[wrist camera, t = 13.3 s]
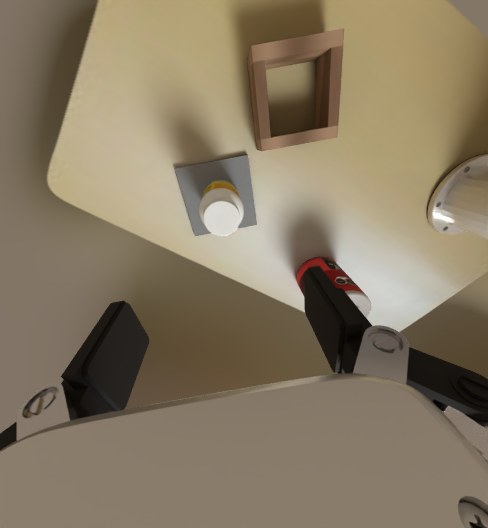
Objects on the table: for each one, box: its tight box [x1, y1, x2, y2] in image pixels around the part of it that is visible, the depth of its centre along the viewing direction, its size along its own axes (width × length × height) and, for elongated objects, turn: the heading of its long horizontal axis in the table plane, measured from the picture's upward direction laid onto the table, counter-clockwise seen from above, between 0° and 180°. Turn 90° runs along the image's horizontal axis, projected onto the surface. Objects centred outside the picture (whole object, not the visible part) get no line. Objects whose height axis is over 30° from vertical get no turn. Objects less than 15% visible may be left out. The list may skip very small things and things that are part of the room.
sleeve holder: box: [247, 29, 344, 151], centre depth 25 cm, size 9×9×4 cm
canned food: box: [297, 257, 371, 317], centre depth 36 cm, size 8×8×11 cm
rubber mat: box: [175, 155, 257, 236], centre depth 31 cm, size 10×10×1 cm
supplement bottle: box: [199, 180, 244, 236], centre depth 27 cm, size 5×5×10 cm
